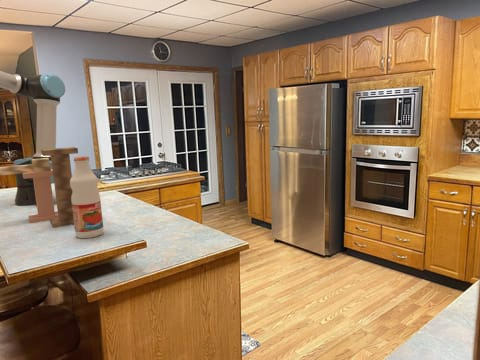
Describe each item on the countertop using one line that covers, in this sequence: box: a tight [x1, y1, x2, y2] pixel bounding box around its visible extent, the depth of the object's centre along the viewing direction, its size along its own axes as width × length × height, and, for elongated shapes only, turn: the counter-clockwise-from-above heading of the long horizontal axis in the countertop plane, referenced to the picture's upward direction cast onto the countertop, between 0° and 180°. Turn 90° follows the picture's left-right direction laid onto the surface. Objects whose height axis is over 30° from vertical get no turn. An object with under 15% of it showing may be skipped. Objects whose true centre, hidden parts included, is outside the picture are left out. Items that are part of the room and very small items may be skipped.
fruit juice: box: [70, 155, 104, 239], centre depth 128 cm, size 9×9×28 cm
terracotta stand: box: [23, 169, 59, 224], centre depth 153 cm, size 13×8×20 cm, turn 123°
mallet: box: [0, 158, 51, 176], centre depth 148 cm, size 20×7×5 cm, turn 123°
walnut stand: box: [41, 146, 79, 228], centre depth 145 cm, size 12×9×30 cm
